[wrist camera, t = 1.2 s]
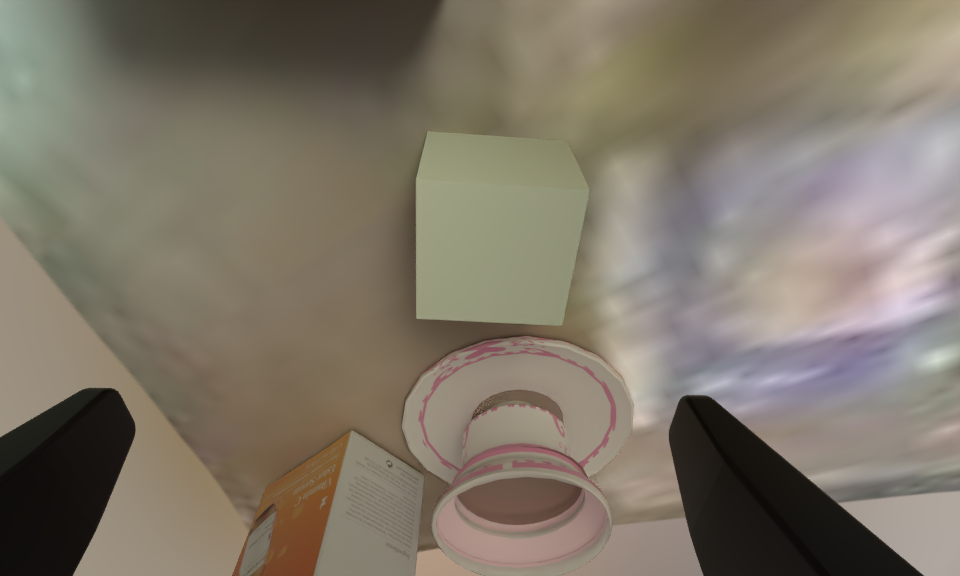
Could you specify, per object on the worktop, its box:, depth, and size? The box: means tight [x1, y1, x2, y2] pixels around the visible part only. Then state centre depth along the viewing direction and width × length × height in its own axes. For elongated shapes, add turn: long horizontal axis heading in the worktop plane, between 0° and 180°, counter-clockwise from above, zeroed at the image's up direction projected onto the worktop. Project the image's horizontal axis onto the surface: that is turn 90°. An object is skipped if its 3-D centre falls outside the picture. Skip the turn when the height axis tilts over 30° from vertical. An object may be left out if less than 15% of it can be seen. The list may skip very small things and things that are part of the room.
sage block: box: [416, 132, 590, 326], centre depth 18 cm, size 5×5×4 cm
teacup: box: [402, 336, 634, 576], centre depth 24 cm, size 12×12×6 cm
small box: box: [232, 430, 424, 576], centre depth 25 cm, size 8×6×10 cm
